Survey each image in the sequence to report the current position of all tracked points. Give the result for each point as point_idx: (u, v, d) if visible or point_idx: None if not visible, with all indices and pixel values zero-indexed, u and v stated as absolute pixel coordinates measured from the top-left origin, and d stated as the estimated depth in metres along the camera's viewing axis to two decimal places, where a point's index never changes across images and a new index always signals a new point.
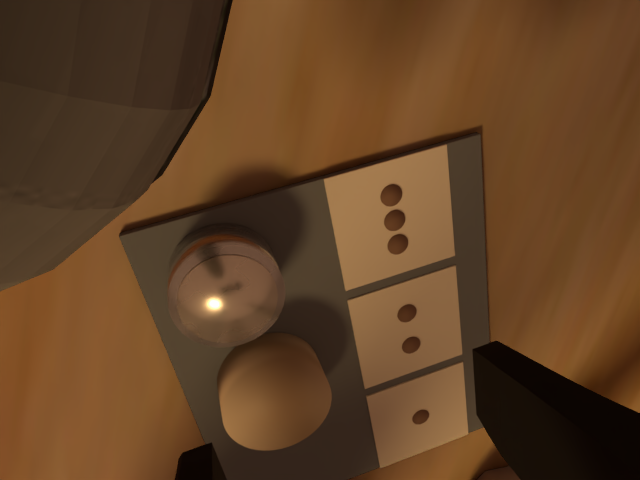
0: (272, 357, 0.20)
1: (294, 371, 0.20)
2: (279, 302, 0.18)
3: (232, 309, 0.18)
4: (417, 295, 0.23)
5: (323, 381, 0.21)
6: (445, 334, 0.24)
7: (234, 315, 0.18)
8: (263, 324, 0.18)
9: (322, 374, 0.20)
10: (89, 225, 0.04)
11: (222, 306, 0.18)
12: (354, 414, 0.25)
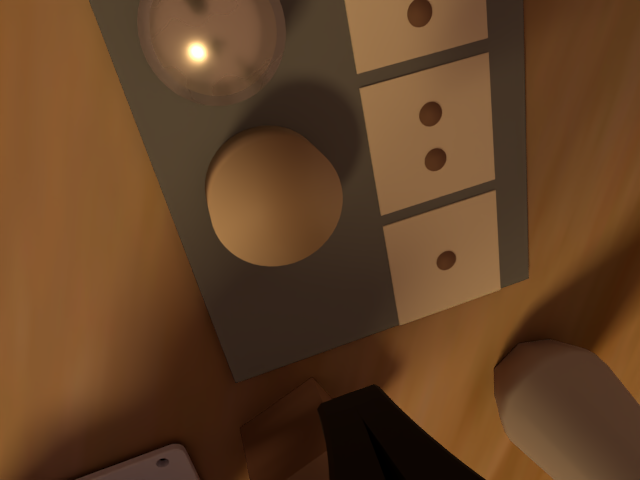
0: (269, 137, 0.16)
1: (296, 155, 0.16)
2: (279, 35, 0.15)
3: (222, 44, 0.14)
4: (443, 91, 0.19)
5: (332, 174, 0.17)
6: (475, 149, 0.20)
7: (226, 54, 0.14)
8: (264, 66, 0.15)
9: (331, 164, 0.17)
10: None
11: (209, 40, 0.14)
12: (369, 250, 0.21)
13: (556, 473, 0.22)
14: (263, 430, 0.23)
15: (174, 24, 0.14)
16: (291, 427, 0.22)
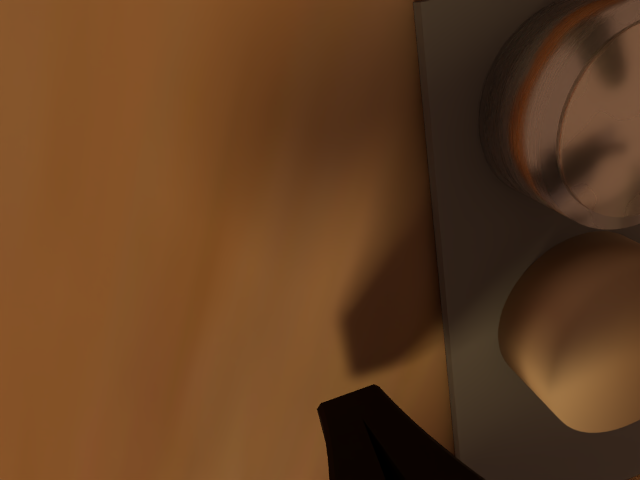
0: None
1: None
2: None
3: None
4: None
5: None
6: None
7: None
8: None
9: None
10: None
11: (639, 137, 0.09)
12: None
13: None
14: None
15: (598, 120, 0.08)
16: None
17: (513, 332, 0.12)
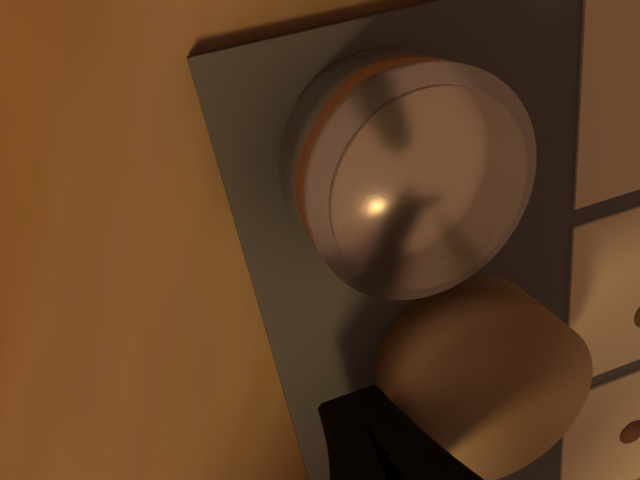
0: (506, 312, 0.10)
1: (545, 339, 0.11)
2: (526, 171, 0.09)
3: (444, 212, 0.08)
4: None
5: (585, 360, 0.11)
6: None
7: (450, 224, 0.09)
8: (504, 225, 0.09)
9: (586, 347, 0.11)
10: None
11: (424, 212, 0.08)
12: None
13: None
14: None
15: (370, 204, 0.08)
16: None
17: (383, 379, 0.12)
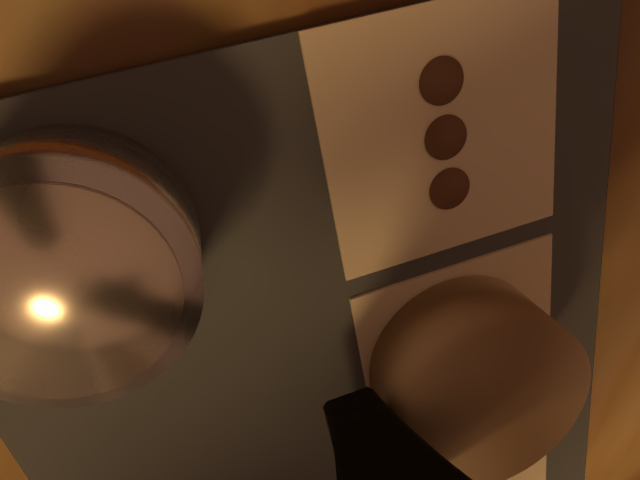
0: (499, 316, 0.10)
1: (541, 343, 0.10)
2: (186, 256, 0.08)
3: (80, 315, 0.07)
4: None
5: (582, 362, 0.11)
6: None
7: (96, 326, 0.07)
8: (174, 317, 0.08)
9: (583, 349, 0.11)
10: None
11: (52, 318, 0.07)
12: None
13: None
14: None
15: None
16: None
17: (378, 384, 0.12)
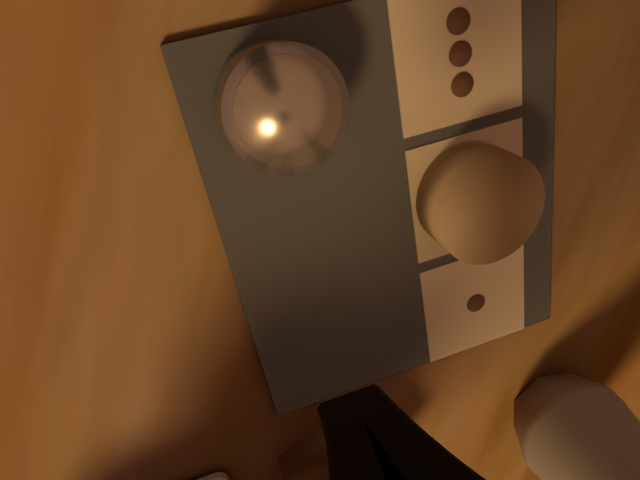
0: (492, 152, 0.19)
1: (515, 167, 0.19)
2: (340, 84, 0.16)
3: (299, 119, 0.16)
4: None
5: (539, 183, 0.19)
6: None
7: (305, 124, 0.16)
8: (338, 116, 0.16)
9: (539, 175, 0.19)
10: None
11: (287, 122, 0.16)
12: (406, 294, 0.22)
13: None
14: (302, 460, 0.24)
15: (256, 125, 0.15)
16: None
17: (422, 203, 0.20)
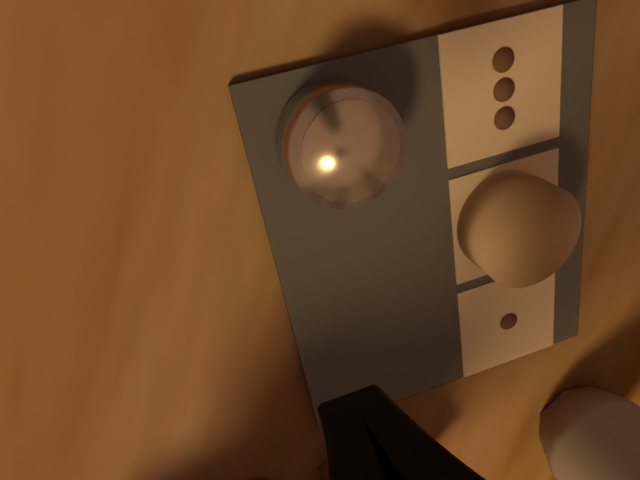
0: (533, 183, 0.20)
1: (554, 197, 0.20)
2: (394, 117, 0.17)
3: (361, 157, 0.17)
4: None
5: (576, 212, 0.20)
6: None
7: (367, 160, 0.17)
8: (397, 146, 0.17)
9: (577, 204, 0.20)
10: None
11: (351, 161, 0.17)
12: (444, 314, 0.24)
13: None
14: None
15: (323, 170, 0.17)
16: None
17: (464, 229, 0.21)
